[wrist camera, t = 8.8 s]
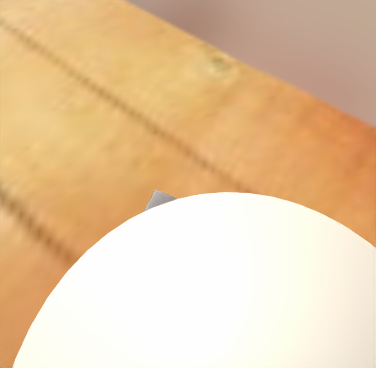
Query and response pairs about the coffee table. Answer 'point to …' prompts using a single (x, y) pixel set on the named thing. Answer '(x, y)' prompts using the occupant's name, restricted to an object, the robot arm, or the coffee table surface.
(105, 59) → the coffee table surface
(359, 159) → the coffee table surface
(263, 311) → the white round cylinder
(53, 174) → the coffee table surface
